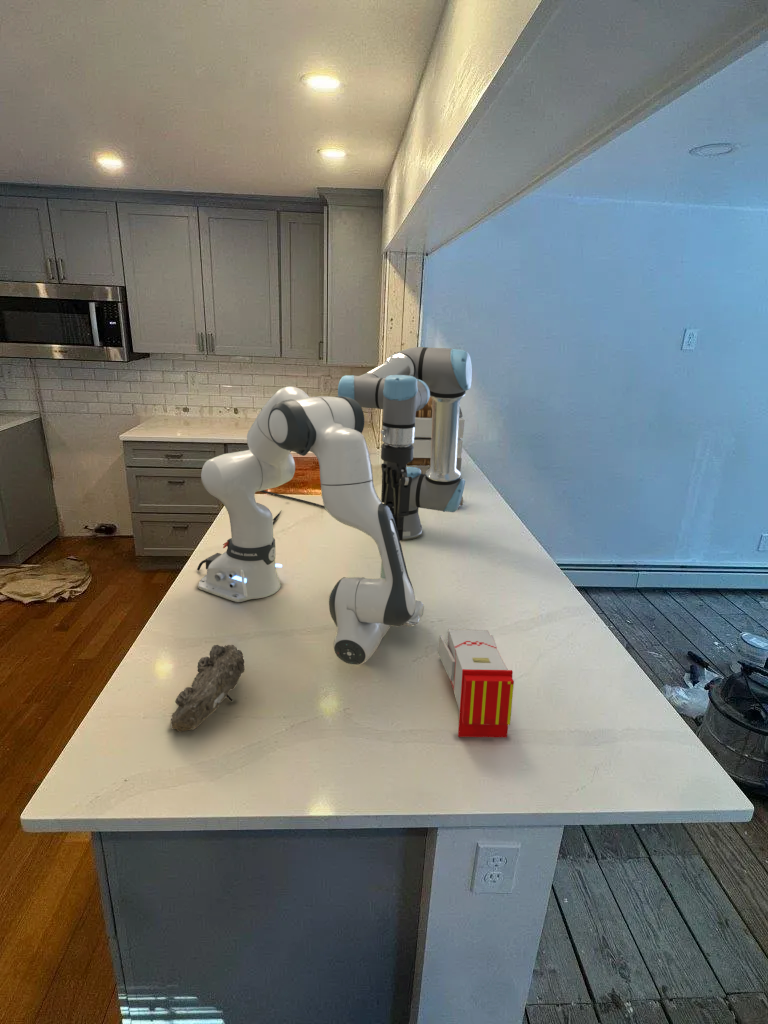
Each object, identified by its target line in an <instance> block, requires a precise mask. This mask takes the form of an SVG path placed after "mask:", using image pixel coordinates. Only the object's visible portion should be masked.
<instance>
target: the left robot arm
mask: <svg viewBox="0 0 768 1024" xmlns="http://www.w3.org/2000/svg"><path fill="white" fill-rule="evenodd" d="M364 428H365V414H364V411H363V407H361V406H360V405H359V403H358V402H357V401H355V400H354V399H351V398H348V397H343V396H338V395H337V396H330V395H327V396H326V395H325V396H324V395H319V396H317V395H316V396H309V394H308V393H307V392H305V391H304V390H303V389H302V388H299V387H297V386H292V385H291V386H283V387H281V388H279V389H278V390H277V391H276V392H275V393H274V394H273V395H272V396H271V397H270V398H268V400H267V401H266V403H265V404H264V405H263V407H262V408H261V410H260V411H259V412H258V414H257V416H256V418H255V420H254V421H253V422H252V424H251V426H250V428H249V429H248V431H247V435H246V444H247V447H248V449H245V450H240V451H233V452H227V453H222V454H220V455H217V456H214V457H212V458H210V459H208V460H206V461H205V462H204V464H203V466H202V468H201V471H200V472H201V473H200V479H201V483H202V486H203V488H204V489H205V491H206V492H207V494H209V495H210V496H211V497H213V498H215V499H217V500H218V501H220V503H222V504H223V506H224V507H225V509H226V512H227V514H228V517H229V524H230V534H231V535H230V536H231V537H230V538H229V539H227V540H226V541H225V542H224V543H223V544H222V548H223V549H225V548H226V547H227V549H226V551H224V552H222V553H220V552H216V553H214V554H212V555H210V556H208V557H206V558H205V559H203V560H202V561H200V562H199V564H198V566H197V568H196V570H197V571H201V568H202V565H204V564H205V570H206V574H205V575H204V576H203V577H202V578H200V579H199V582H198V583H197V584H198V585H197V588H198V589H199V590H201V591H204V592H206V593H209V594H212V595H215V596H217V597H221V598H223V599H225V600H229V601H232V602H234V603H242V602H245V601H249V600H255V599H256V600H257V599H263V598H267V597H269V596H273V595H275V593H277V592H278V591H279V590H280V589H281V586H282V585H281V582H280V578H279V575H278V571H277V568H283V564H281V563H276V539H275V537H274V525H273V519H274V516H273V513H272V511H271V510H270V508H269V507H267V506H266V505H265V504H262V503H259V502H257V501H256V497H255V496H256V493H257V492H259V491H262V490H264V491H267V490H271V489H275V488H278V487H280V486H283V485H284V484H287V483H288V482H290V481H292V479H293V478H294V476H295V472H296V462H295V458H294V456H293V454H291V453H292V452H293V453H296V454H297V455H300V456H301V457H305V456H306V455H307V454H309V452H311V453H312V454H313V455H314V456H315V457H316V458H317V461H318V465H319V479H320V480H319V483H320V491H321V499H322V503H323V504H322V505H323V506H324V507H325V508H324V509H325V510H326V512H327V513H328V514H329V516H331V517H332V518H333V519H335V520H336V521H337V522H339V523H341V524H343V525H345V526H348V527H351V528H353V529H355V530H358V531H360V532H362V533H364V534H366V535H367V536H368V537H370V538H371V539H372V540H373V541H374V543H375V544H376V546H377V549H378V553H379V556H380V562H381V561H382V565H383V569H384V573H385V577H386V578H384V579H382V578H381V577H379V578H378V577H359V576H343V577H342V578H340V579H338V581H337V582H336V583H335V585H334V586H333V588H332V590H331V592H330V594H329V598H328V609H329V614H330V617H331V619H332V621H333V623H334V625H335V627H336V634H335V639H334V642H333V651H334V653H335V655H336V657H337V658H338V659H339V660H340V661H342V662H343V663H346V664H347V665H353V666H355V665H356V666H358V665H362V664H364V663H365V662H367V661H368V660H369V659H371V657H372V656H373V655H374V654H375V652H376V650H377V649H378V648H379V646H380V644H381V642H382V639H383V638H384V637H385V636H386V634H387V633H388V631H389V629H390V628H391V627H401V626H403V627H413V626H416V625H418V623H419V622H420V620H421V619H422V617H423V615H424V607H425V606H424V603H423V602H422V600H416V595H415V594H416V593H415V590H414V587H413V584H412V581H411V579H410V576H409V573H408V569H407V566H406V561H405V557H404V552H403V547H402V544H401V541H400V540H399V536H398V532H397V528H396V524H395V521H394V518H393V515H392V512H391V510H390V508H389V507H388V506H386V505H385V504H384V503H382V502H381V498H379V495H378V494H377V491H376V488H375V485H374V476H373V475H374V474H373V467H372V461H371V457H370V452H369V448H368V444H367V441H366V438H365V435H364V434H362V433H363V432H364Z"/></svg>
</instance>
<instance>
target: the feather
mask: <svg viewBox="0 0 768 1024" xmlns="http://www.w3.org/2000/svg"><path fill="white" fill-rule="evenodd" d="M281 512H282V510H280V512H279V513H277V514H276V516H275V517H273V526H274V525H275V523H276V521H277V520H278V518H279V516H280V514H281Z"/></svg>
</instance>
